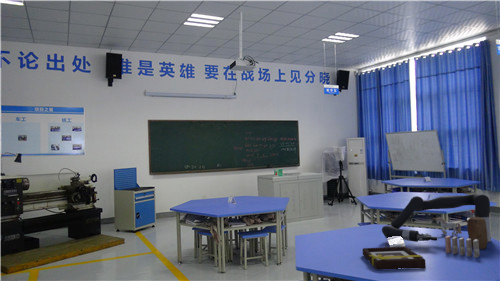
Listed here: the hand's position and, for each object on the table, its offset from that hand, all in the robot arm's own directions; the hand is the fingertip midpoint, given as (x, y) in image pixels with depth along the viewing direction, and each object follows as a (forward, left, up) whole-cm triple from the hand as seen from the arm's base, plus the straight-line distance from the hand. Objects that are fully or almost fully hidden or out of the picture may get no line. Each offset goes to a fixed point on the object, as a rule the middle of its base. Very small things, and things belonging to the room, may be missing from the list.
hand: (436, 239), depth 238 cm
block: (-21, +18, -8) cm, 29 cm away
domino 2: (0, +11, -7) cm, 13 cm away
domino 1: (0, +7, -7) cm, 10 cm away
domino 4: (0, +23, -7) cm, 24 cm away
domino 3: (0, +19, -7) cm, 20 cm away
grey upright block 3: (0, +15, -7) cm, 17 cm away
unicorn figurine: (-43, -8, -8) cm, 44 cm away
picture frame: (+40, -12, -8) cm, 43 cm away
